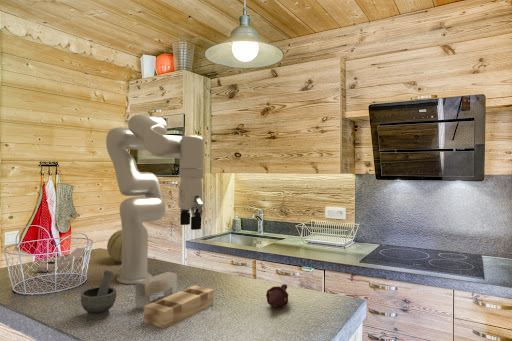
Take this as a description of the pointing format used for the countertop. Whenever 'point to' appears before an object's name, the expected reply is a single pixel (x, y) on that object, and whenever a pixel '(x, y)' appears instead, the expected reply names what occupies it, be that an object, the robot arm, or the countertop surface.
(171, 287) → the grey boxy piece
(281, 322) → the countertop surface
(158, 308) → the brown wooden rectangular block
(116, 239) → the cantaloupe
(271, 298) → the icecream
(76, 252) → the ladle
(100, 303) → the mortar and pestle
